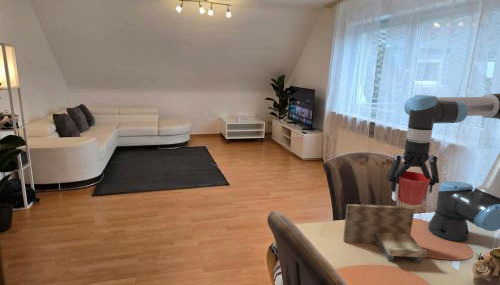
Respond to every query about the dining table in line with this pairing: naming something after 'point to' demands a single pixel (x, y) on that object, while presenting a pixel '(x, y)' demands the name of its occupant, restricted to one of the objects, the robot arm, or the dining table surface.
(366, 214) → the wooden board
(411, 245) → the small wooden stand
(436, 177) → the robot arm
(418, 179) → the flower pot
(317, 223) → the dining table surface
